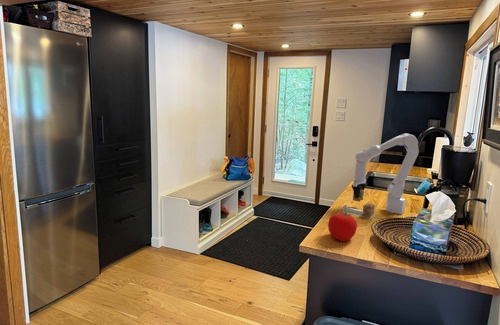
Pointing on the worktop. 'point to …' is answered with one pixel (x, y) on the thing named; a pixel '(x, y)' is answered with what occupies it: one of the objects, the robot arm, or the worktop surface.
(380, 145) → the robot arm
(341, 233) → the red apple
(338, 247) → the worktop surface
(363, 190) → the brown notched block
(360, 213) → the rail
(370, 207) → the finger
